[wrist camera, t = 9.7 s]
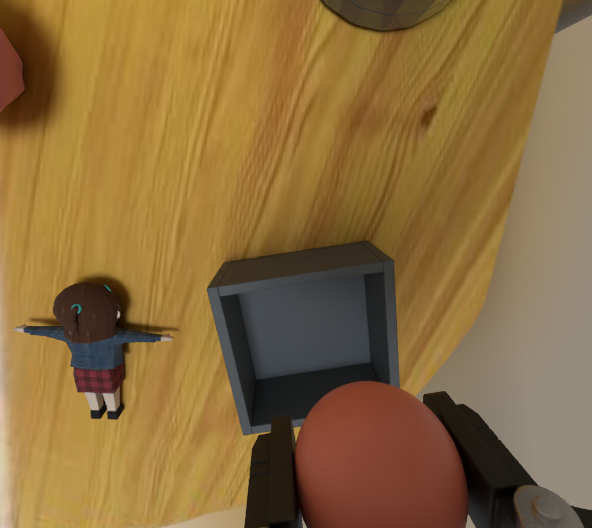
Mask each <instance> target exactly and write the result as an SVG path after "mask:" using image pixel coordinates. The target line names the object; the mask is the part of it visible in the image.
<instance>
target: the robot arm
mask: <svg viewBox="0 0 592 528" xmlns="http://www.w3.org/2000/svg"><path fill="white" fill-rule="evenodd" d="M423 403H424V404H425V405H426V406H427V407H428V408H429V409H430V410H431V411H432V412H433V413H434V414H435V415H436V416H437V417H438V419H439V420H440V421H441V423H442V424H443V425H444V427H445V428H446V430H447V431H448V433H449V434H450V436H451V438H452V440H453V441H454V443H455V446H456V448H457V450H458V453H459V455H460V458H461V460H462V464H463V467H464V471H465V475H466V480H467V488H468V514H469V516H470V518H471V519H472V521H473V523H474V525H475V527H476V528H592V510H587V509H581V508H577V507H573V506H571V505H569V504H568V503H567V502H566V501H565V500H563V499H562V498H561V497H560V496H558V495H557V494H555V493H553V492H552V491H550V490H548V489H545V488H543V487H540V486H538V485H537V483H536V482H535V481H534V480H533V479H532V478H531V477H530V475H529V474H528V473H527V472H526V471H525V469H524V468H523V467H522V466H521V465H520V464H519V462H518V461H517V460H516V459H515V457H514V456H513V455H512V454H511V453H510V451H509V450H508V449H507V448H506V447H505V446H504V444H503V443H502V442H501V441H500V440H498V438H497V436H496V435H495V434H494V432H493V431H492V430H491V429H489V426H488V425H487V424H486V423H485V422H484V420H483V419H482V418H481V417H480V416H479V414H478V413H476V412H475V411H473V410H472V409H470V408H469V407H467V406H466V405H464V404H459V405H456V404H455V403H454V401H453V400H452V399H451V398H450V396H449V395H448V394H447V393H446V392H445V391H441V392H435V393H428V394H424V396H423ZM295 445H296V441H295V435H294V430H293V424H292V418H291V414H289V415H283V416H277V417H272V418H271V433H269V434H262V435H259V436H258V438H257V440H256V442H255V444H254V446H253V448H252V455H251V466H250V478H249V486H248V496H247V508H246V518H245V527H244V528H303V524H302V515H301V512H300V509H299V506H298V501H297V494H296V485H295V476H294V451H295Z"/></svg>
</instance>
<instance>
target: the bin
mask: <svg viewBox="0 0 592 528" xmlns="http://www.w3.org/2000/svg"><path fill="white" fill-rule="evenodd" d="M207 292H208V296H209V300H210V304H211V308H212V312H213V316H214V320H215V324H216V328H217V332H218V336H219V340H220V344H221V348H222V352H223V356H224V360H225V364H226V368H227V372H228V376H229V380H230V384H231V388H232V392H233V396H234V400H235V404H236V408H237V412H238V416H239V420H240V424H241V428H242V432H243V435H250V434H252V433H253V434H256V433H262V432H269V431H271V418H272V417H277V416H283V415H289V414H291V418H292V424H293V428H294V427H301V426H302V424H303V422H304V420H305V419H306V417H307V415H308V414H309V412H310V411H311V409H312V408H313V407H314V406H315V404H316V403H317V402H318V401H319V400H320V399H321V398H322V397H324V396H325V395H326V394H328V393H329V392H331V391H332V390H334V389H336V388H338V387H340V386H343V385H346V384H349V383H353V382H360V381H375V382H381V383H385V384H389V385H393V386H395V387H398V388H400V384H399V363H398V341H397V320H396V298H395V277H394V260H393V259H391V258H390V257H389V256H387V255H386V254H385V253H383V252H382V251H381V250H379V249H378V248H377V247H375V246H374V245H373V244H371V243H370V242H369V241H362V242H356V243H349V244H343V245H336V246H329V247H323V248H316V249H310V250H303V251H296V252H290V253H283V254H277V255H270V256H263V257H257V258H250V259H244V260H237V261H230V262H224V263H223V265H222V266H221V267H220V269H219V271H218V272H217V274H216V275H215V277H214V278H213V280H212V281H211V283H210V284H209V286H208V287H207Z"/></svg>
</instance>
